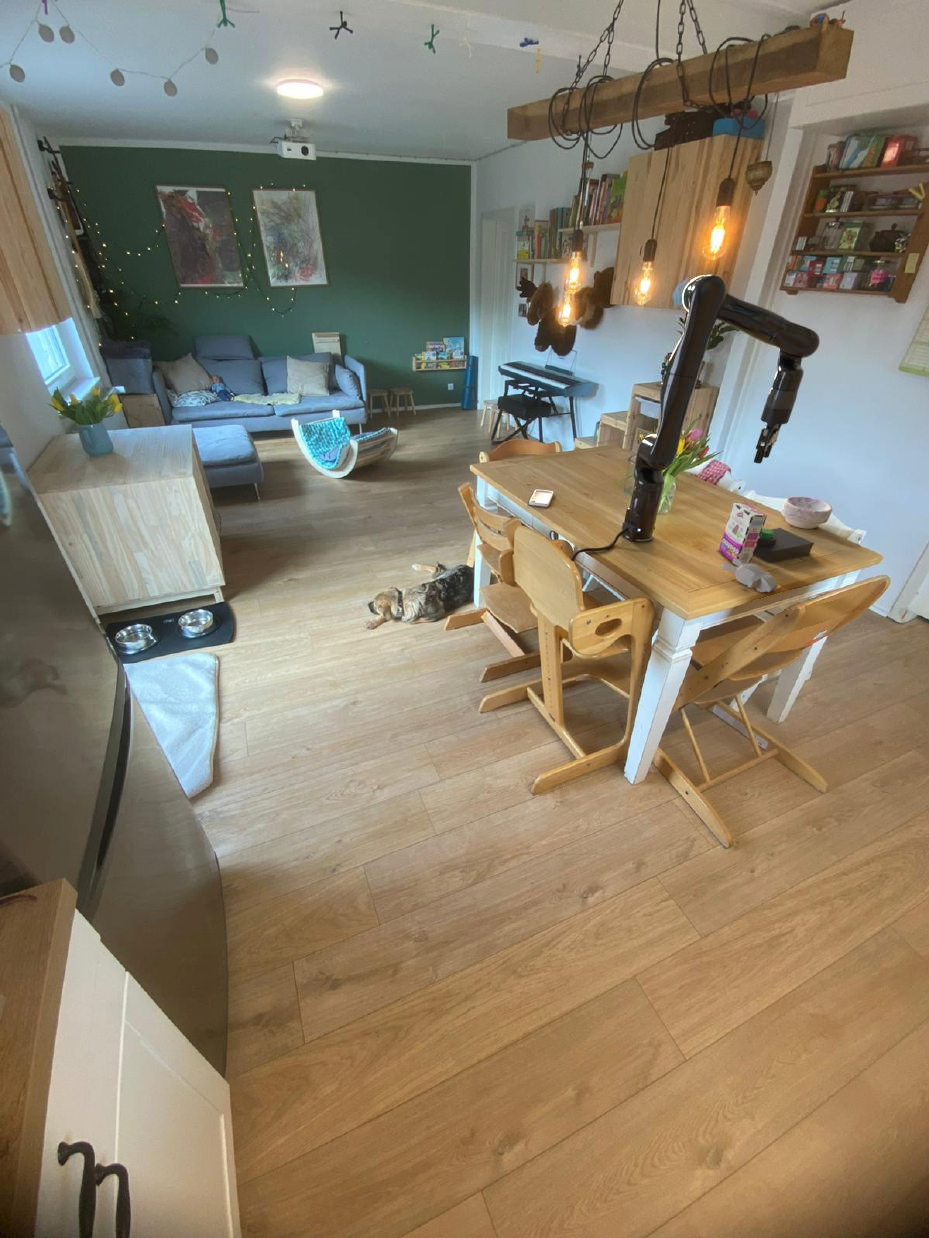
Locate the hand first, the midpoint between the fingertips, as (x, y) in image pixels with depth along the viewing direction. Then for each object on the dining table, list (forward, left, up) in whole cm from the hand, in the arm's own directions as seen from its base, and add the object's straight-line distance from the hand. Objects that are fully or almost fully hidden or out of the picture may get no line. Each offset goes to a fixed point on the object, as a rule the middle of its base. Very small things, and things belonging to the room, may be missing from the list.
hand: (760, 460), depth 166 cm
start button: (0, -11, -22) cm, 24 cm away
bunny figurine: (-20, -25, -28) cm, 42 cm away
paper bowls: (+35, +2, -28) cm, 44 cm away
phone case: (-44, +56, -27) cm, 76 cm away
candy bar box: (-11, -11, -27) cm, 31 cm away
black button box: (+6, -11, -27) cm, 30 cm away
